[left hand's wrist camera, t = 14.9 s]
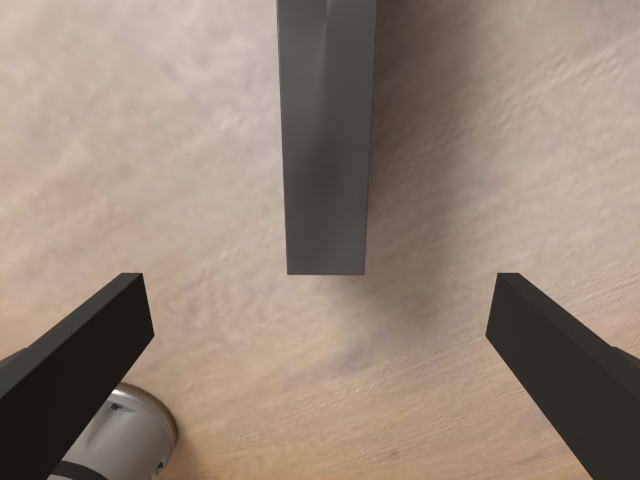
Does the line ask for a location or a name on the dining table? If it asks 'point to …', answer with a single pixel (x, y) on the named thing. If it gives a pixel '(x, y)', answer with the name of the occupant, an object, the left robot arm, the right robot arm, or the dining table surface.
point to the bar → (326, 131)
